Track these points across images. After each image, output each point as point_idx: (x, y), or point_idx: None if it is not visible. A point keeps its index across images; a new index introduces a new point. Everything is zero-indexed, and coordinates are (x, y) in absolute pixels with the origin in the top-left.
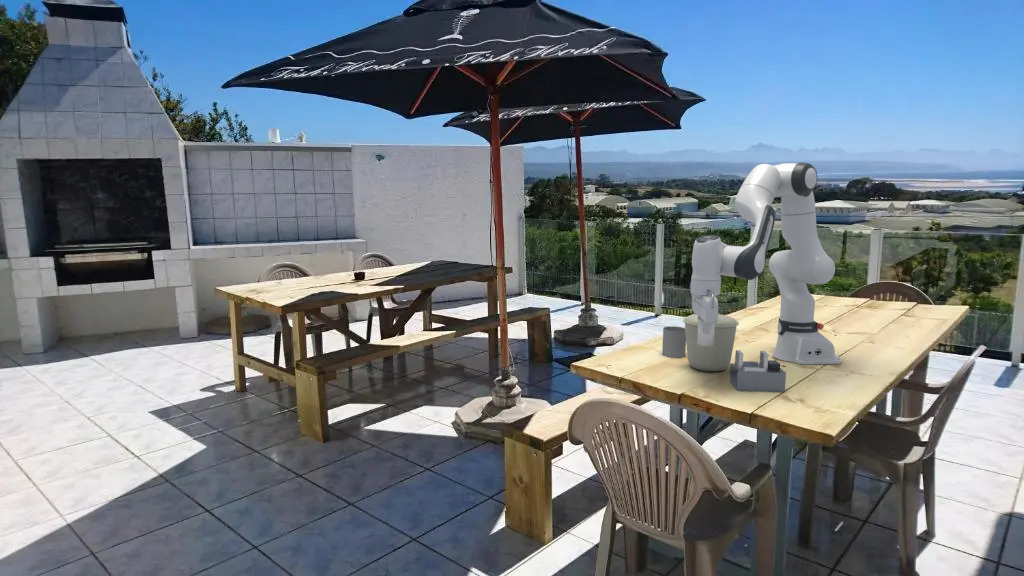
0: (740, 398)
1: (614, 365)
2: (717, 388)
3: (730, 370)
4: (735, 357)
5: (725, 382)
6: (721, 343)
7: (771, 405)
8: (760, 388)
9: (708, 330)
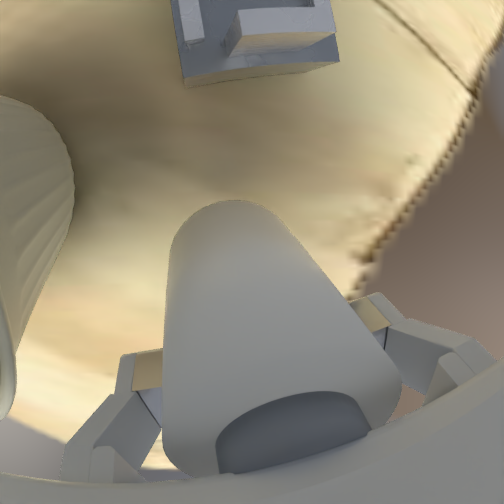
0: (383, 82)
1: None
2: (293, 141)
3: (193, 80)
4: (238, 47)
5: (199, 104)
6: (14, 144)
7: (416, 16)
8: None
9: (394, 318)
